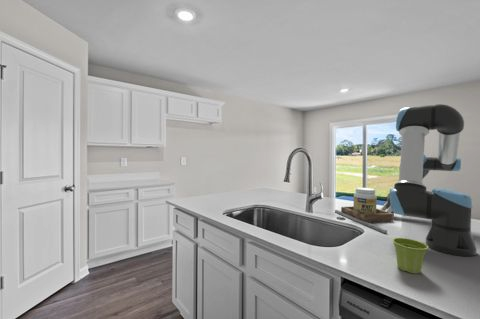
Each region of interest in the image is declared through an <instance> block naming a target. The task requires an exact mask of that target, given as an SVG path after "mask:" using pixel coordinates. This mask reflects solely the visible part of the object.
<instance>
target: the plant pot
mask: <svg viewBox="0 0 480 319" xmlns="http://www.w3.org/2000/svg"><path fill="white" fill-rule="evenodd" d="M392 242H393V245H394V248H395V255H396V256H395V257H396V266H397V267H398V268H399V270H401V271H404V272H405V271H406V272H408V273H409V274H420V273H421V272H422V267H423V262H424V258H425V254H426V253H427V251H428V249H429V248H430V247H429V246H427V245H426V243H424V242H421V241H418V240H416V239H410V238H407V237H394V238H393V239H392Z"/></svg>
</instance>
